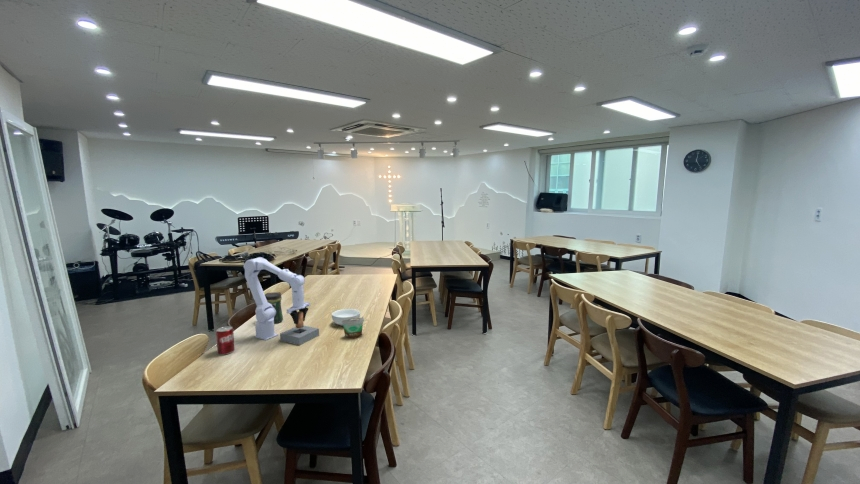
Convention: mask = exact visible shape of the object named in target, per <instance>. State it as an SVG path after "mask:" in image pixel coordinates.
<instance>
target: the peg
mask: <svg viewBox="0 0 860 484" xmlns="http://www.w3.org/2000/svg"><path fill="white" fill-rule="evenodd" d="M297 312H299V316H298V324H295V327H296V328H302V327H304V326H305V324H304V323H305V322H304V321H303V312H302V311H299V310H297Z"/></svg>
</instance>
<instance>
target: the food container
mask: <svg viewBox="0 0 860 484" xmlns="http://www.w3.org/2000/svg"><path fill="white" fill-rule="evenodd" d="M364 318H365V317H364V316H362V317H360V318H353V319H349V320H342V323H343V326H342V327H343V332H344V337H345V338H348V339H356V338H359V337H361V336H363V324H364V321H365V319H364Z"/></svg>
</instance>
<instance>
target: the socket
mask: <svg viewBox="0 0 860 484" xmlns="http://www.w3.org/2000/svg"><path fill="white" fill-rule="evenodd" d="M319 336H320V328H318V327H314V326H309V325H304V327H302V328H296V326H294V327H292V328H290V329H287V330H285V331H283V332H280V333H279V338H280V339H279V340H280V341H281V342H284V343H289V344H292V345H296V346H297V345H298V346H301V345H303V344H305V343H307V342H309V341H311V340H313V339H315V338H317V337H319Z"/></svg>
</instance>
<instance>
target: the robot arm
mask: <svg viewBox="0 0 860 484" xmlns="http://www.w3.org/2000/svg"><path fill="white" fill-rule="evenodd" d="M242 267H243V269H244V278H245V280H246V283H247V286H248V287H249V290H250V292H251V295H252V298H253V299H254V302H255V303H254V304H255V305H256V308H255V311H254V312H255V319H256V322H255V336H254V338H256V339H259V340H264V341H268V340H270V339H271V338H275V337H277V336H278V335H279V333H276V332H275V323H274V316H275V315H276V310H275V309H274V308H273V306H272V304H270V303H268V302H267V299H266V297H265V294H266V293H265V292H264V289H263V288H262V285H261V283H260V280H259V277H258V275H259V274H260V271H262V270H265V271H268V272H270V273H273V274H275V275H277V276H278V279H280V280H281V281H283V282H285V283H287V284H288V285H289V286H290V288H291V292H292V293H291V295H292V306H291V307H289V308H287V309H286V314H287V315H288V314H289V315H290V316H291V318H292V319H291V320H292V321H293V324H294V325H296V324H298V316H299V312H298V311H302V312H303V322H305V320H306V316H307V313H308V311H309V307H310V306H311V302H305V295H304V293H305V292H304V284H305V282H306V278H305V277H304V276H303V275H302V274H297V273H294V272H293V271H290V270H289V268H284V269H281V268H280V267H278V266H276V265H275V264H273V263H271V262H270V261H268V260H267V259H266V258H264V257H261V256H258V257H256V258H251V259H246V261H245V262H244V263H243V266H242Z"/></svg>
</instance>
